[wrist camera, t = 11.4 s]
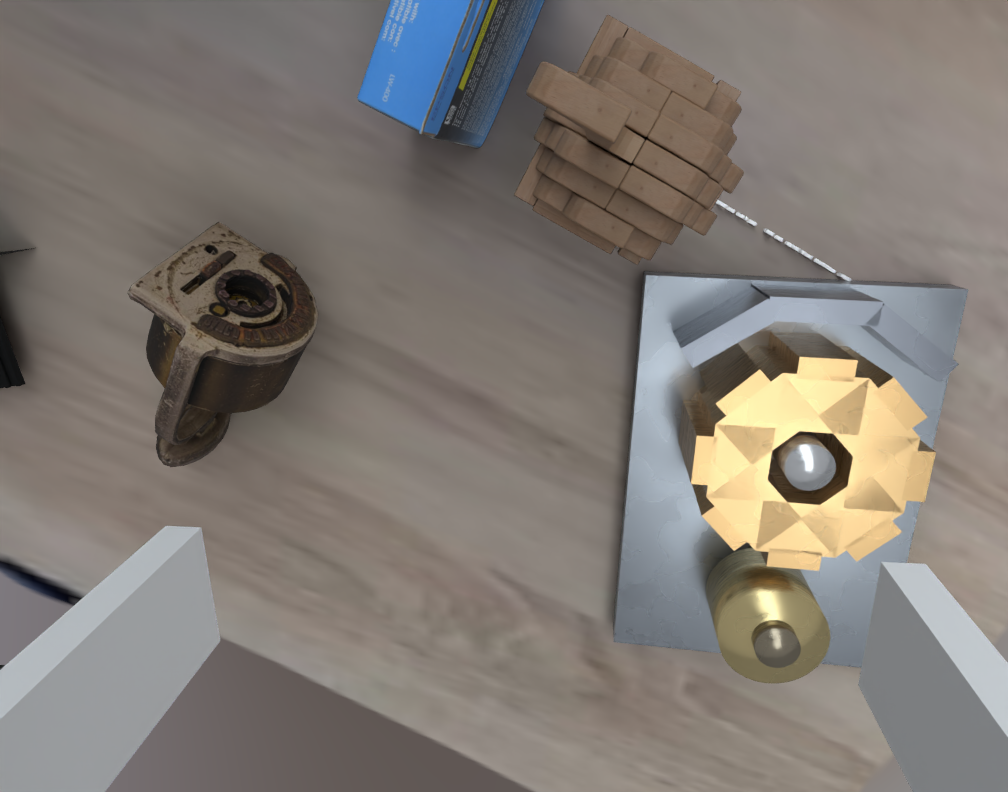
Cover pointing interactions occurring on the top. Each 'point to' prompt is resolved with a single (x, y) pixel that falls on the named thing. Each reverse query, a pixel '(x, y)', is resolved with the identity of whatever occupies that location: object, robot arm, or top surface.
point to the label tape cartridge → (447, 64)
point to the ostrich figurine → (633, 145)
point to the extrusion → (8, 357)
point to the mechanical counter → (220, 336)
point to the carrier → (803, 458)
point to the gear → (781, 414)
